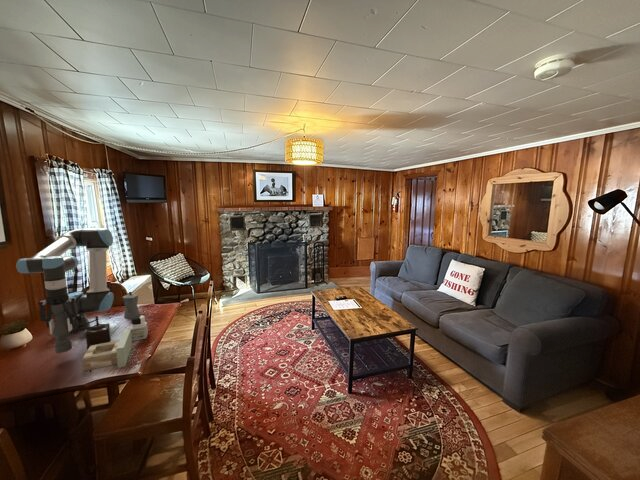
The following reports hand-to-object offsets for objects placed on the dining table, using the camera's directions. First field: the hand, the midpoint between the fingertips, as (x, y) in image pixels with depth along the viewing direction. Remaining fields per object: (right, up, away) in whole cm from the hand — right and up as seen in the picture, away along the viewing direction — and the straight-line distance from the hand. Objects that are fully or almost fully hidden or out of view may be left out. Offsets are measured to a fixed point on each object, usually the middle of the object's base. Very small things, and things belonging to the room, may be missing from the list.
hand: (61, 331), depth 135 cm
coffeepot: (-5, -8, +57) cm, 58 cm away
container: (+22, -13, +26) cm, 37 cm away
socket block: (+20, -16, +2) cm, 26 cm away
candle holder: (0, -10, +1) cm, 10 cm away
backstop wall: (+28, -15, +6) cm, 32 cm away
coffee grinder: (+2, -14, +17) cm, 22 cm away
